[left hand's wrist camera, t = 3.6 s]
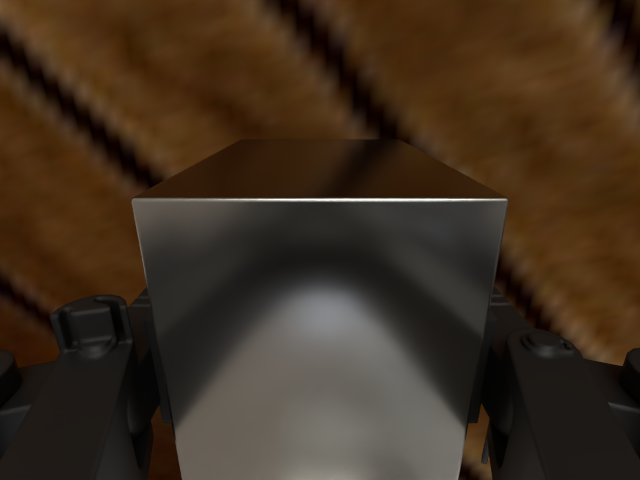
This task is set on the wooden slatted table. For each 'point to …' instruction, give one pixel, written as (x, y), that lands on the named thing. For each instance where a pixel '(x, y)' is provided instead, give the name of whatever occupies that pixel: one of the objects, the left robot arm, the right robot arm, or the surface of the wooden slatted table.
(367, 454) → the bar
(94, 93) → the wooden slatted table surface
